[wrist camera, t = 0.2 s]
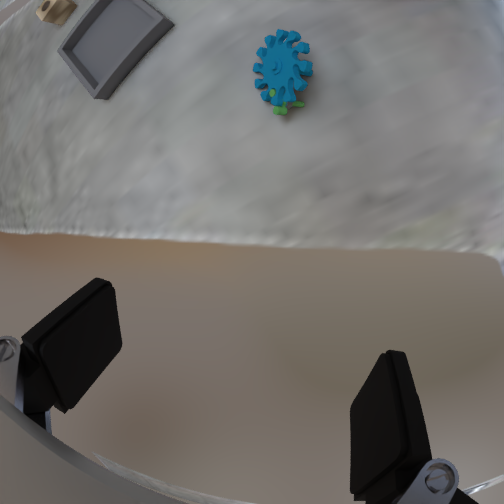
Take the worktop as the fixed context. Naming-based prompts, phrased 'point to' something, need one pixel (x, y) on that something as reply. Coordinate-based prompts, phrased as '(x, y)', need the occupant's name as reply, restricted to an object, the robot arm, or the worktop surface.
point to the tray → (111, 42)
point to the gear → (282, 70)
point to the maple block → (56, 11)
